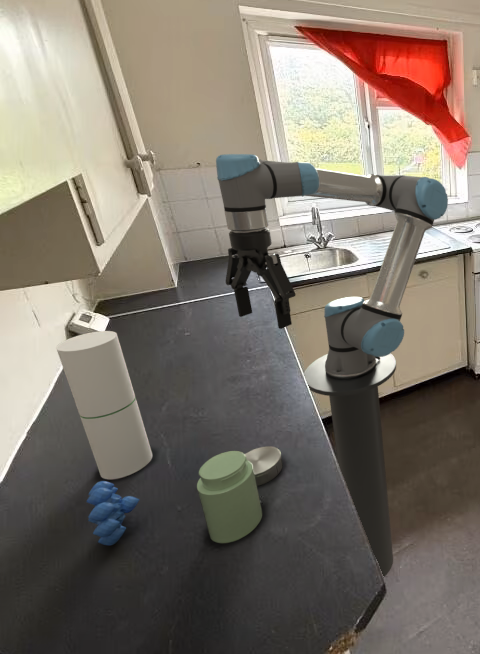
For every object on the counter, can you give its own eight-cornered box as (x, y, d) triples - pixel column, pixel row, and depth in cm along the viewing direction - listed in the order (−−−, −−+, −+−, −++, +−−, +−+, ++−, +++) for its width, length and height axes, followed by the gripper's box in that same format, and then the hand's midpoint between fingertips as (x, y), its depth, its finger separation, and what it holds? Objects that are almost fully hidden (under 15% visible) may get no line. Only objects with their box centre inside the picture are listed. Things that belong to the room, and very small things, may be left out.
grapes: (149, 546, 74) (132, 492, 70) (96, 571, 70) (75, 515, 66) (145, 505, 82) (130, 454, 78) (98, 525, 78) (79, 472, 74)
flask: (260, 497, 84) (248, 441, 80) (264, 528, 78) (252, 469, 74) (209, 517, 80) (194, 459, 76) (209, 552, 73) (193, 490, 69)
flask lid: (272, 486, 87) (269, 474, 86) (228, 488, 86) (226, 476, 85) (289, 456, 95) (287, 445, 94) (249, 458, 94) (247, 447, 93)
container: (93, 468, 91) (49, 343, 81) (143, 445, 98) (107, 327, 88) (109, 485, 86) (64, 355, 77) (159, 459, 93) (124, 337, 84)
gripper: (305, 232, 88) (317, 325, 94) (230, 220, 98) (245, 304, 105) (272, 239, 81) (287, 338, 88) (195, 226, 92) (214, 315, 98)
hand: (265, 320), depth 96 cm, fingers open, 13 cm apart
